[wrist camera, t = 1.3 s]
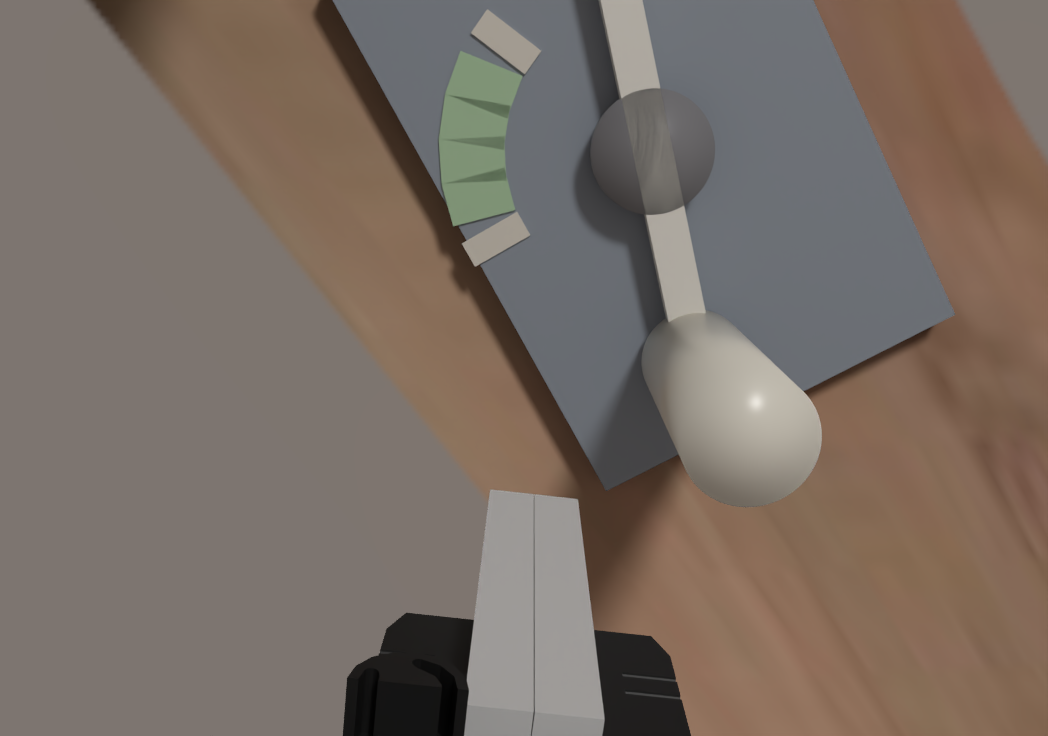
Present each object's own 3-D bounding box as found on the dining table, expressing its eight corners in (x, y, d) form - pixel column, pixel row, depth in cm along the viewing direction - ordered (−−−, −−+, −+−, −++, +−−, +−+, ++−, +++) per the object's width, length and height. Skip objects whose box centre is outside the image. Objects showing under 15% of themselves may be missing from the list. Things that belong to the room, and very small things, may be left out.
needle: (535, -84, 34) (536, -173, 24) (660, -117, 33) (713, -221, 24) (648, 422, 38) (687, 522, 28) (760, 396, 38) (839, 488, 28)
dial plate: (321, -15, 36) (313, -21, 35) (693, -239, 34) (700, -253, 33) (599, 483, 40) (601, 494, 39) (942, 309, 38) (956, 314, 37)
